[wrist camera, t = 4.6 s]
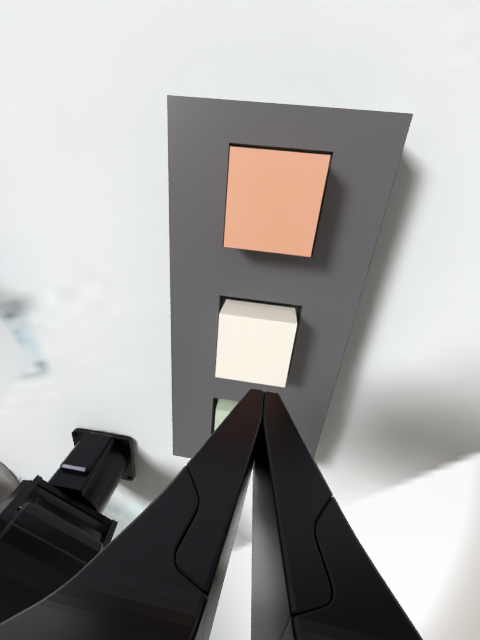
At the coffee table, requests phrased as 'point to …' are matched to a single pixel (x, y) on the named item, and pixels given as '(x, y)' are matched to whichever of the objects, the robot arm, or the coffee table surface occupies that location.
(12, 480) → the mate gourd
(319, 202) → the terracotta keycap
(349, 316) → the grey flat rectangular block
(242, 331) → the ivory keycap
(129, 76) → the coffee table surface
